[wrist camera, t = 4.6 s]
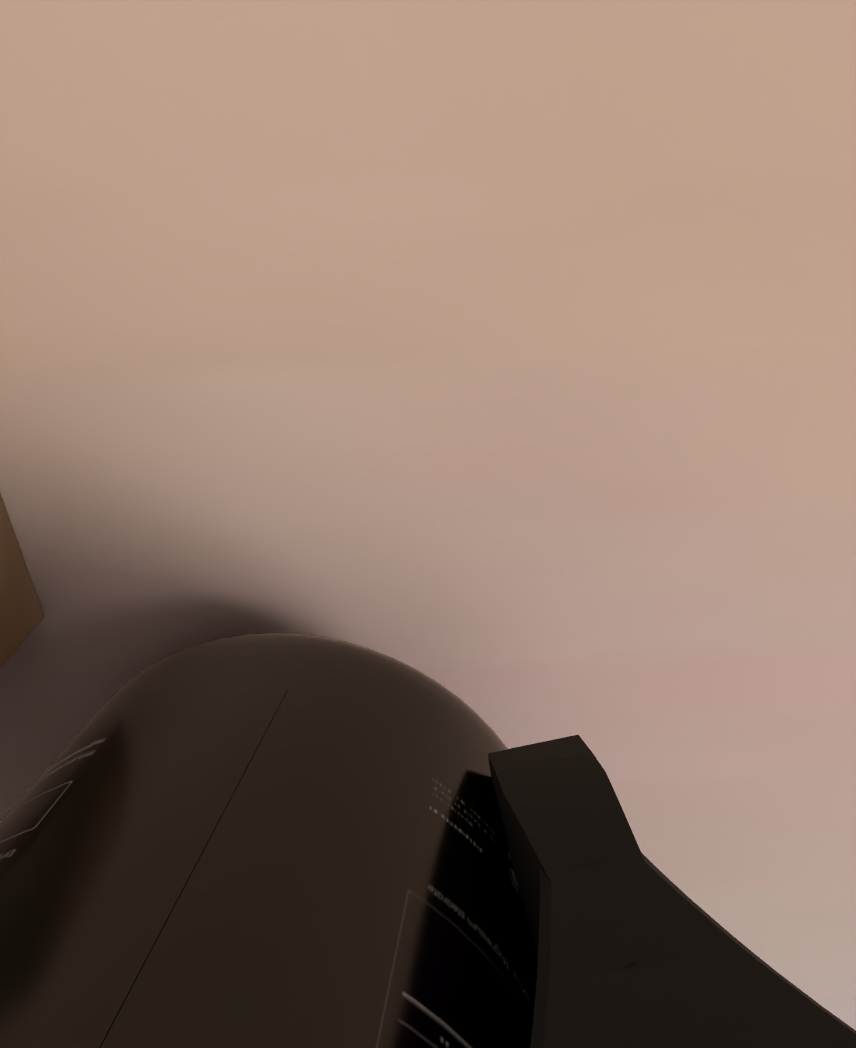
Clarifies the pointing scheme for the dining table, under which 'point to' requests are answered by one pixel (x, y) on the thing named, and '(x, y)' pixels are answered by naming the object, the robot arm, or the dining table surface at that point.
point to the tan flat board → (14, 592)
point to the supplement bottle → (266, 864)
